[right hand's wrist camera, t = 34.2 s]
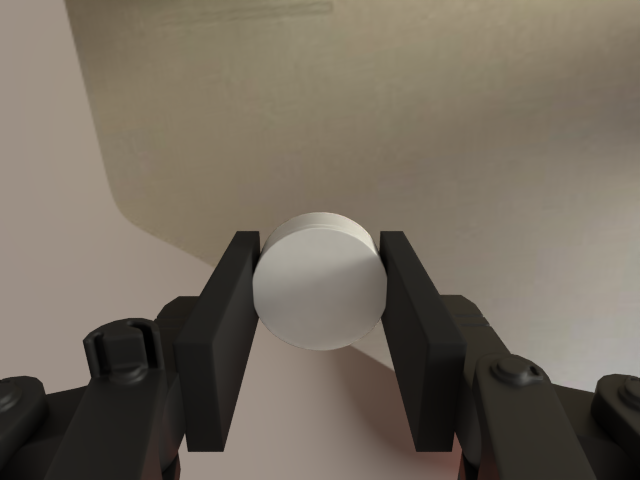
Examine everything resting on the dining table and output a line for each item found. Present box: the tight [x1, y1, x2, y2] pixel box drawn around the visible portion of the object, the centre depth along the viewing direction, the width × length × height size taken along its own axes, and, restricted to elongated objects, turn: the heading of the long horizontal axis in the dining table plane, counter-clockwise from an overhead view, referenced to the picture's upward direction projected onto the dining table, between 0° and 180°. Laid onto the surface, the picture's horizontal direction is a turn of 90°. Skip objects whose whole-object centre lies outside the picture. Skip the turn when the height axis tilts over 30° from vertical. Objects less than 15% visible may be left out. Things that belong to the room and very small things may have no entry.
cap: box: [253, 212, 387, 351], centre depth 13 cm, size 4×4×2 cm
